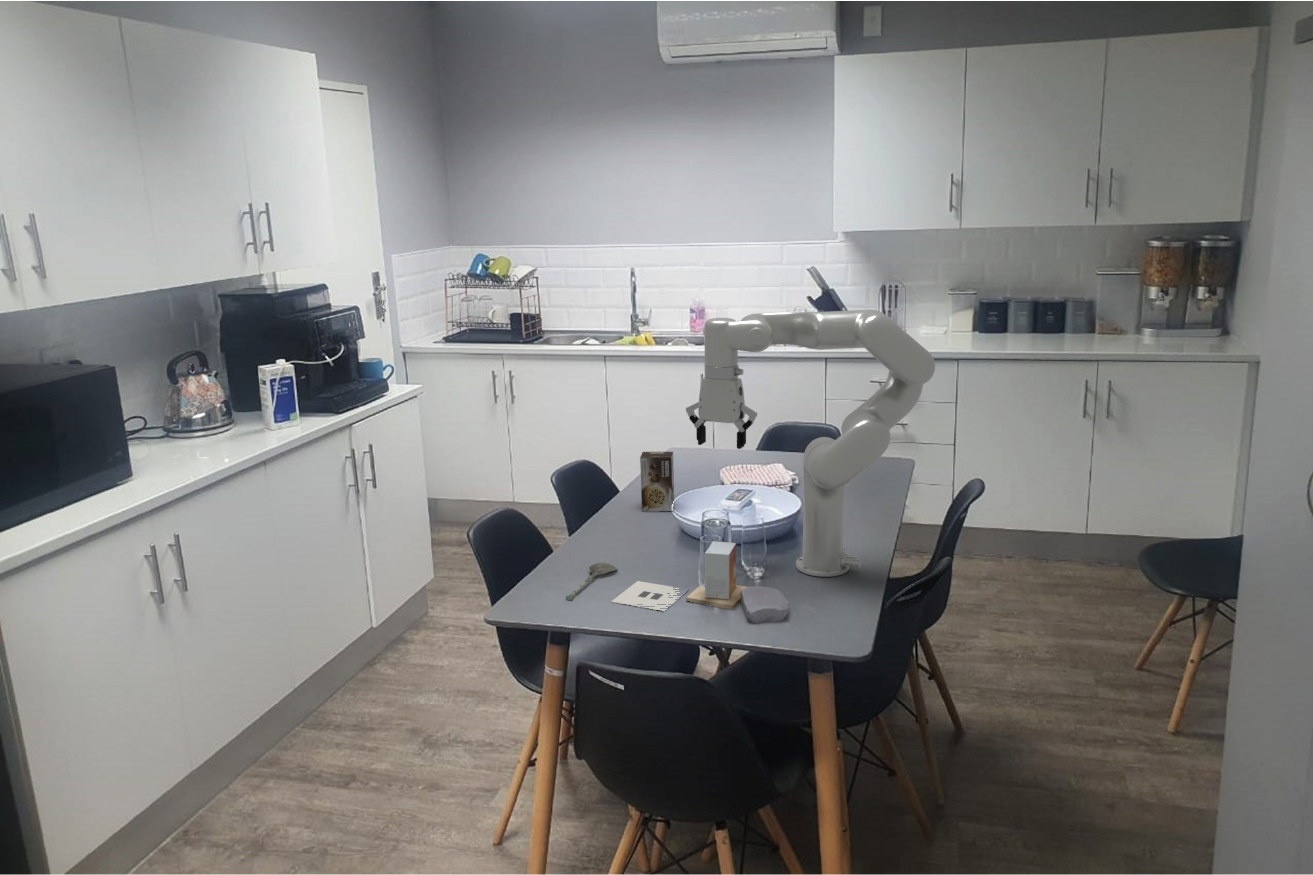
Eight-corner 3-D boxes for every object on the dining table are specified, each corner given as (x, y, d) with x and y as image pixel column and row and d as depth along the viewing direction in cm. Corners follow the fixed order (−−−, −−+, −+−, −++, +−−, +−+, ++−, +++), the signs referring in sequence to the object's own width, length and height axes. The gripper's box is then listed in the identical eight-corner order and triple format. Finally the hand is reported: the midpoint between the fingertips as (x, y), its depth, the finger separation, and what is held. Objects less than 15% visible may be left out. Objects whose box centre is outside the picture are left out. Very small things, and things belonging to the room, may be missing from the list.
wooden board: (750, 591, 221) (750, 587, 221) (732, 609, 212) (732, 605, 212) (705, 584, 226) (705, 579, 226) (686, 601, 217) (686, 597, 216)
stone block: (779, 607, 218) (735, 601, 216) (784, 588, 216) (740, 581, 215) (790, 632, 206) (744, 626, 205) (795, 611, 205) (749, 605, 204)
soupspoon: (622, 572, 237) (597, 570, 240) (621, 559, 236) (596, 557, 239) (581, 603, 217) (555, 600, 220) (580, 589, 216) (554, 586, 219)
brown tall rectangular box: (674, 505, 284) (674, 451, 280) (673, 512, 278) (672, 457, 274) (643, 504, 285) (642, 450, 281) (640, 511, 279) (639, 456, 275)
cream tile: (689, 590, 223) (689, 589, 223) (664, 612, 211) (664, 611, 211) (637, 581, 228) (637, 580, 228) (611, 602, 217) (611, 601, 217)
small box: (729, 600, 214) (729, 554, 212) (704, 598, 216) (704, 552, 213) (736, 586, 222) (736, 542, 219) (712, 584, 223) (712, 540, 221)
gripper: (762, 372, 224) (761, 445, 228) (692, 367, 231) (693, 438, 235) (751, 378, 217) (750, 453, 221) (679, 373, 225) (680, 445, 229)
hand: (721, 445), depth 228 cm, fingers open, 9 cm apart
